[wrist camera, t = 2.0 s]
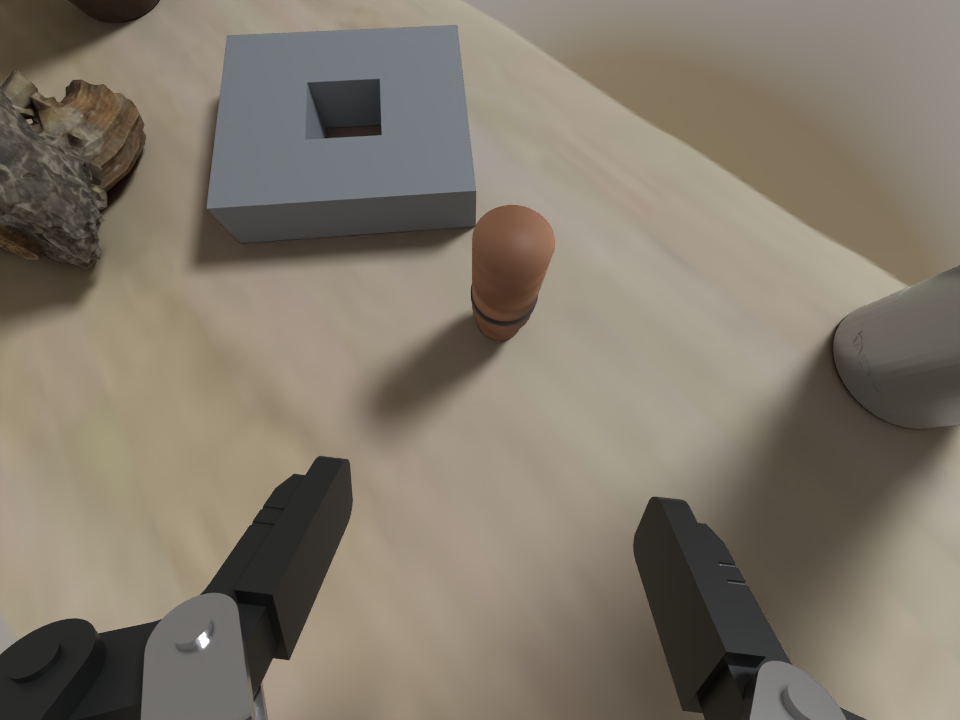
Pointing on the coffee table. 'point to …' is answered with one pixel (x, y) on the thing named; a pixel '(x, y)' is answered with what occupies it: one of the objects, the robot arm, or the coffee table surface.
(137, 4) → the plant pot
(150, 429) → the coffee table surface
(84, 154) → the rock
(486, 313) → the cherry peg
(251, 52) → the slate socket board
